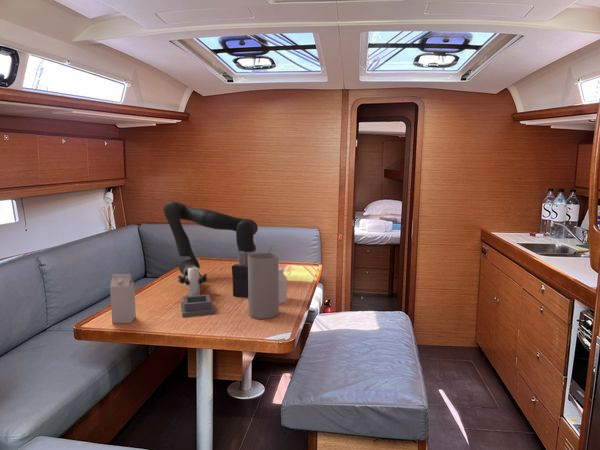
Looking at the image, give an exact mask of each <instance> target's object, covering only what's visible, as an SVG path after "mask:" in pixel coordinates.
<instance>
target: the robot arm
mask: <svg viewBox="0 0 600 450" xmlns="http://www.w3.org/2000/svg"><path fill="white" fill-rule="evenodd" d="M163 214H164V216H165V219H166V220H167V222H168V224H169V225H168V226H169V227H170V230H171V232H172V235H173V238H174V241H175V244H176V249H177V251H178V255H179V256H180V257H183V258H184V257H188V258H190V259H187V260H183V261H181V262H180V263H179V264H178V269H179V272H180V274H181V275H182V276H181V275H178V276H177V279H178V282H179V283H180V284H185V285H187V286H188V285H189V280H188V268H193V267H196V268H199V269H200V267H201V266H200V265H201V264H200V262H199V260H198V259H197V258H196V256H195V253H194V251H193V249H192V245H191V242H190V239H189V236H188V235H187V233H186V231H185V229H184V227H183V225H182V222H181V220H183V221H188V222H193V223H195V224H197V225H199V226H201V227H205V228H209V229H212V230H220V231H221V230H223V231H225V230H226V231H232V232H235V237H236V238H235V239H236V246H237V254H238V255H237V258H238V259H237V261H238V262H237V263H238V264H239V265H248V255H250V254H254V253H257V252H256V250H257V248H256V247H257V246H256V244H255V241H254V235H256V234H257V232H258V231H259V230H258V229H259V227H258V224H257V223H256V221H254V220H253V219H249V218H241V217H235V216H231V215H229V214H225V213H221V212H219V211H214V210H210V209H205V208H196V207H192V206H189V205H185V204H183V203H181V202H179V201H171V200H170V201H168V202H166V203H165V204H164V206H163ZM207 280H208V273H204V274H201V273H200V272H199V285H202V284H203V282H204V283H206V281H207Z"/></svg>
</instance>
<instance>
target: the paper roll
mask: <svg viewBox="0 0 600 450" xmlns="http://www.w3.org/2000/svg"><path fill="white" fill-rule="evenodd" d="M199 273H200V268H196V267H193V268H188V280H189V285H187V286H188V287H187V288H188V296H197V295H201V294H200V293H201V292H200V291H201V290H200V288H201V287H200V284H199Z"/></svg>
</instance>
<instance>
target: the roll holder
mask: <svg viewBox="0 0 600 450" xmlns="http://www.w3.org/2000/svg"><path fill="white" fill-rule="evenodd" d="M180 307H181V308H180V310H181V315H182V318H186V317H197V316H205V315H206V316H207V315H214V314H215V313H216V312H215V308H214V305H213V303H212V300H211V298H210V294H200V295H197V296H189V295H188V296H182V301H180Z"/></svg>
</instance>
